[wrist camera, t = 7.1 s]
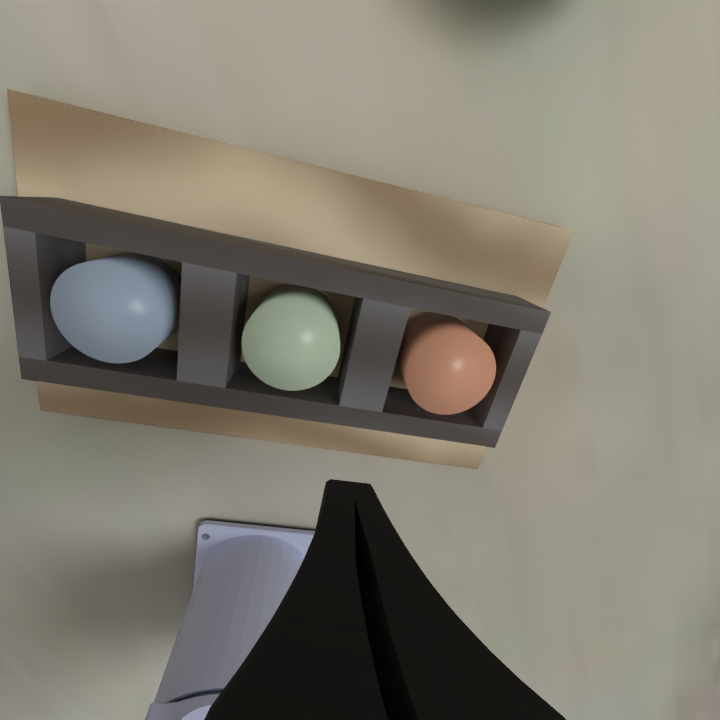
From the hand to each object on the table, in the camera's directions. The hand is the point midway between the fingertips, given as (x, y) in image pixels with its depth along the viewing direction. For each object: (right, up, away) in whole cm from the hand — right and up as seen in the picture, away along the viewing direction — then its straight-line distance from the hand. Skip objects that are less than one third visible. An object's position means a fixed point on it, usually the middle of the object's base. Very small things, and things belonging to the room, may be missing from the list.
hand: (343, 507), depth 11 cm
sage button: (-3, +6, +7) cm, 10 cm away
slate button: (-9, +7, +6) cm, 13 cm away
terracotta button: (+4, +5, +8) cm, 10 cm away
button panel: (-3, +7, +8) cm, 11 cm away
